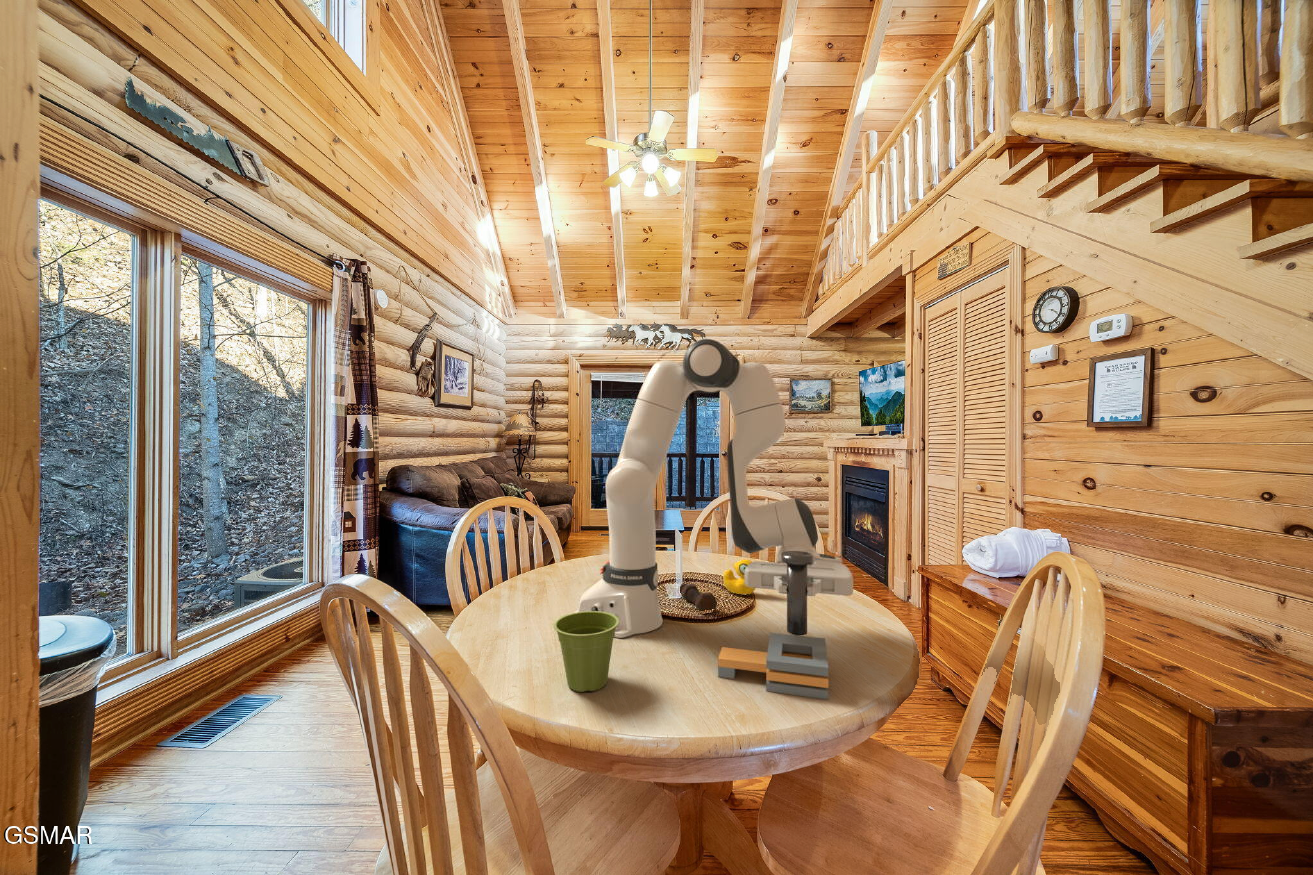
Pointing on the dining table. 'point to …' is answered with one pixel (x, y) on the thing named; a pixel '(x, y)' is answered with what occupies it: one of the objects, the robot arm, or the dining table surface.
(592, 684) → the plant pot
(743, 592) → the duckling
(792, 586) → the pin
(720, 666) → the bracket
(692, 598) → the bolt
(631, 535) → the robot arm
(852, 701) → the dining table surface
